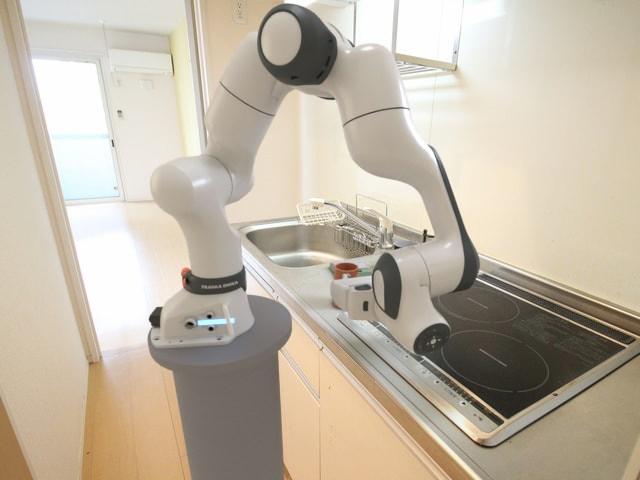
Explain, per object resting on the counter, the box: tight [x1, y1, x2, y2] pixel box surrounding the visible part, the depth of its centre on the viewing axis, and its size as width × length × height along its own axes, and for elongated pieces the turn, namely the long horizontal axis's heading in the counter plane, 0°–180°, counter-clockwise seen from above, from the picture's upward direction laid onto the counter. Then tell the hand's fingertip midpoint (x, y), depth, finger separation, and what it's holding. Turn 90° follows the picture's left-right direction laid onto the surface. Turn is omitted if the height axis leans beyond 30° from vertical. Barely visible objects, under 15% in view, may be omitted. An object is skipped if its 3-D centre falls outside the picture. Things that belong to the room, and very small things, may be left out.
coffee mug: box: [393, 239, 420, 250], centre depth 121 cm, size 12×9×10 cm
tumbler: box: [333, 262, 359, 310], centre depth 98 cm, size 6×6×11 cm
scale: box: [329, 258, 373, 277], centre depth 121 cm, size 11×11×3 cm
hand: (364, 274), depth 85 cm, fingers open, 8 cm apart
